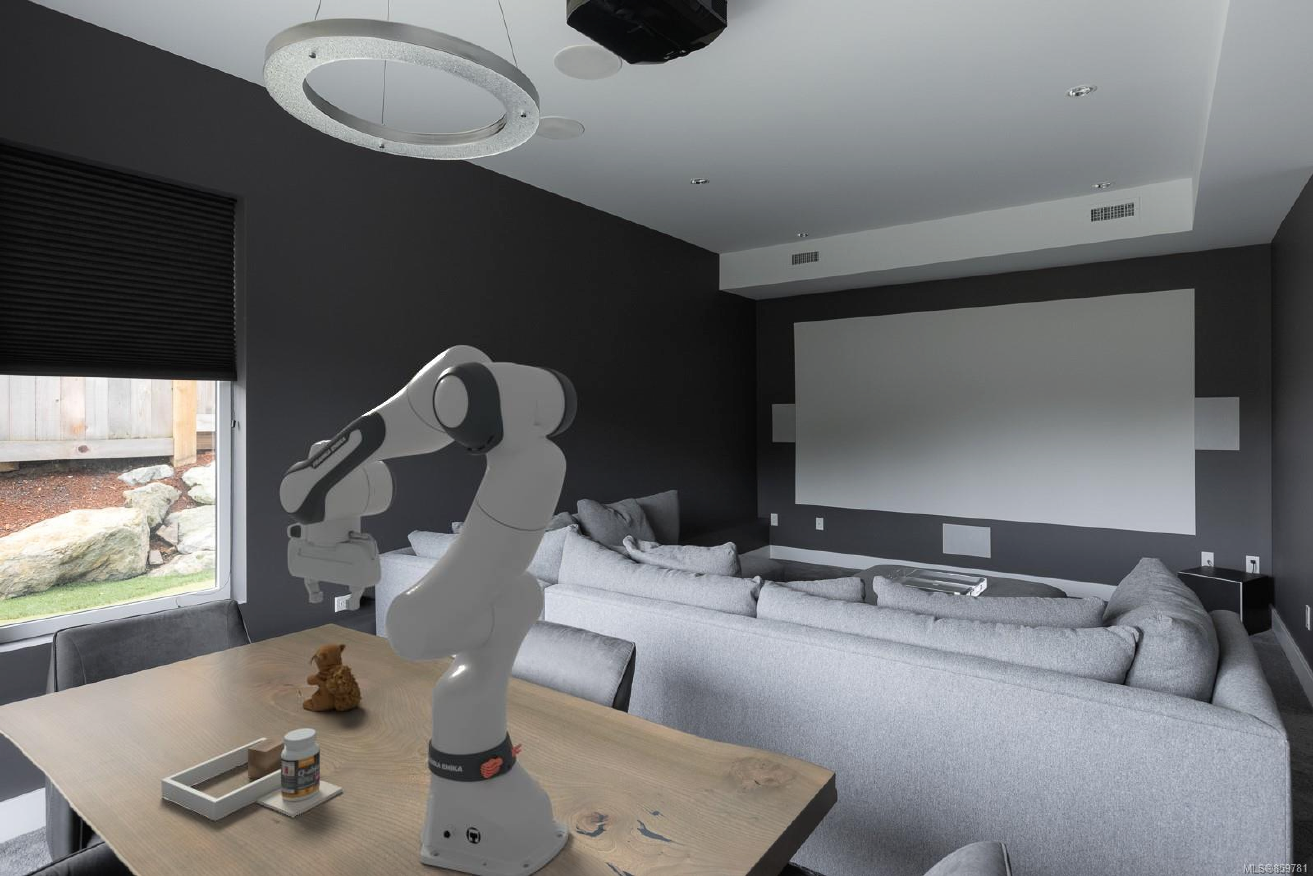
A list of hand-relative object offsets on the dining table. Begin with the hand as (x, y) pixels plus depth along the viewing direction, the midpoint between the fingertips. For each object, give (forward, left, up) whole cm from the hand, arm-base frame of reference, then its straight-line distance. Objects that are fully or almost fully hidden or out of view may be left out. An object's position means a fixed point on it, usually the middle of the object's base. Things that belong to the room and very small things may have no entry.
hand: (334, 605), depth 129 cm
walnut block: (+7, +8, -29) cm, 31 cm away
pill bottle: (-5, +11, -28) cm, 31 cm away
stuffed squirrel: (+21, -17, -29) cm, 40 cm away
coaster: (-5, +11, -29) cm, 31 cm away
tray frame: (+7, +13, -29) cm, 32 cm away
